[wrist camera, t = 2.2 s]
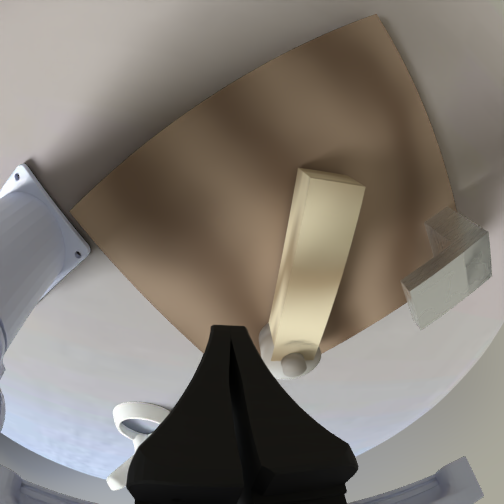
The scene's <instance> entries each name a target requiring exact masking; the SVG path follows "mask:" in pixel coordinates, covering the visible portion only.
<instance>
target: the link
mask: <svg viewBox="0 0 504 504" xmlns="http://www.w3.org/2000/svg"><path fill="white" fill-rule="evenodd" d="M365 188H366V187H365V186H363V185H362V184H360V183H359V182H357V181H355V180H354V179H352V178H351V177H349V176H347V175H342V174H336V173H330V172H324V171H318V170H311V169H304V168H298V171H297V176H296V182H295V188H294V194H293V199H292V205H291V210H290V216H289V221H288V227H287V232H286V238H285V243H284V248H283V253H282V259H281V264H280V269H279V274H278V279H277V284H276V289H275V294H274V299H273V304H272V309H271V314H270V318H269V323H267V324H266V325H265V326H264V327H263V328H262V330H261V332H260V334H259V345H260V351H261V357H262V359H263V361H264V363H265V364H266V366H267V367H268V369H269V370H270V372H271V373H272V375H273V376H274V377H275V378H278V379H294V378H298V377H301V376H303V375H305V374H307V373H309V372H310V371H312V370H313V369H314V368H315V367H316V366H317V365H318V363H319V361H320V359H321V350H320V348H319V344H320V341H321V338H322V335H323V333H324V330H325V327H326V324H327V321H328V318H329V315H330V312H331V309H332V306H333V303H334V300H335V297H336V294H337V290H338V287H339V284H340V281H341V278H342V274H343V271H344V268H345V264H346V261H347V257H348V254H349V250H350V247H351V243H352V239H353V236H354V232H355V228H356V224H357V221H358V217H359V213H360V209H361V205H362V200H363V196H364V192H365Z"/></svg>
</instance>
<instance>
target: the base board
mask: <svg viewBox="0 0 504 504" xmlns="http://www.w3.org/2000/svg"><path fill="white" fill-rule="evenodd" d="M298 168H304V169H311V170H318V171H324V172H330V173H336V174H342V175H347V176H349V177H351V178H352V179H354V180H355V181H357V182H359V183H360V184H362V185H363V186H365V187H366V188H365V192H364V196H363V200H362V205H361V209H360V213H359V217H358V221H357V224H356V228H355V232H354V236H353V239H352V243H351V247H350V250H349V254H348V257H347V261H346V264H345V268H344V271H343V274H342V278H341V281H340V284H339V287H338V290H337V294H336V297H335V300H334V303H333V306H332V309H331V312H330V315H329V318H328V321H327V324H326V327H325V330H324V333H323V335H322V338H321V341H320V344H319V348H320V350H321V354H322V353H324V352H326V351H327V350H329V349H331V348H333V347H335V346H336V345H338V344H340V343H342V342H344V341H345V340H347V339H349V338H351V337H352V336H354V335H356V334H357V333H359V332H361V331H362V330H364V329H366V328H367V327H369V326H371V325H372V324H374V323H376V322H377V321H379V320H380V319H382V318H384V317H385V316H387V315H388V314H390V313H391V312H393V311H394V310H396V309H398V308H399V307H401V306H402V305H404V304H405V303H407V299H406V296H405V293H404V290H403V287H402V285H401V282H400V280H402V279H403V278H405V277H406V276H408V275H409V274H411V273H412V272H413V271H415V270H416V269H418V268H419V267H421V266H422V265H424V264H425V263H426V262H428V261H429V260H431V259H432V258H433V253H432V249H431V245H430V242H429V238H428V234H427V231H426V227H425V224H424V222H426V221H427V220H429V219H430V218H431V217H433V216H434V215H436V214H437V213H438V212H440V211H441V210H443V209H444V208H445V207H447V206H448V207H450V208H451V209H453V210H455V211H456V212H457V210H456V205H455V201H454V197H453V193H452V189H451V185H450V182H449V178H448V174H447V171H446V167H445V164H444V161H443V158H442V155H441V151H440V148H439V145H438V142H437V140H436V137H435V134H434V131H433V128H432V126H431V123H430V120H429V118H428V115H427V113H426V110H425V108H424V105H423V103H422V100H421V98H420V96H419V93H418V91H417V89H416V87H415V84H414V82H413V80H412V78H411V76H410V74H409V72H408V70H407V68H406V66H405V64H404V62H403V60H402V58H401V56H400V54H399V52H398V50H397V48H396V46H395V45H394V43H393V41H392V39H391V37H390V36H389V34H388V32H387V30H386V29H385V27H384V25H383V24H382V22H381V20H380V19H379V17H378V16H377V14H375V15H372V16H369V17H366V18H364V19H361V20H358V21H356V22H353V23H350V24H348V25H345V26H343V27H341V28H338V29H336V30H333V31H331V32H329V33H326V34H324V35H322V36H320V37H317V38H315V39H313V40H311V41H309V42H307V43H304V44H302V45H300V46H298V47H296V48H294V49H292V50H290V51H288V52H286V53H284V54H282V55H280V56H278V57H277V58H275V59H273V60H271V61H269V62H267V63H265V64H264V65H262V66H260V67H258V68H256V69H255V70H253V71H251V72H249V73H248V74H246V75H244V76H243V77H241V78H239V79H238V80H236V81H234V82H233V83H231V84H229V85H228V86H226V87H224V88H223V89H221V90H220V91H218V92H217V93H215V94H213V95H212V96H210V97H209V98H207V99H206V100H204V101H203V102H201V103H200V104H198V105H197V106H195V107H194V108H192V109H191V110H190V111H188V112H187V113H185V114H184V115H182V116H181V117H180V118H178V119H177V120H175V121H174V122H173V123H171V124H170V125H169V126H167V127H166V128H165V129H163V130H162V131H161V132H159V133H158V134H157V135H155V136H154V137H153V138H152V139H150V140H149V141H148V142H146V143H145V144H144V145H143V146H141V147H140V148H139V149H138V150H136V151H135V152H134V153H133V154H132V155H130V156H129V157H128V158H127V159H126V160H124V161H123V162H122V163H121V164H120V165H119V166H117V167H116V168H115V169H114V170H113V171H112V172H111V173H109V174H108V175H107V176H106V177H105V178H104V179H103V180H102V181H100V182H99V183H98V184H97V185H96V186H95V187H94V188H93V189H92V190H91V191H90V192H89V193H88V194H87V195H86V196H84V197H83V198H82V199H81V200H80V201H79V202H78V203H77V204H76V205H75V206H74V207H73V208H72V209H71V210H70V211H69V212H70V213H71V214H72V216H73V217H74V218H75V219H76V221H77V222H78V223H79V224H80V225H81V227H82V228H83V229H84V230H85V231H86V233H87V234H88V235H89V236H90V237H91V239H92V240H93V241H94V242H95V243H96V244H97V246H98V247H99V248H100V249H101V250H102V251H103V252H104V254H105V255H106V256H107V257H108V258H109V259H110V260H111V261H112V263H113V264H114V265H115V266H116V267H117V268H118V269H119V270H120V271H121V272H122V274H123V275H124V276H125V277H126V278H127V279H128V280H129V281H130V282H131V283H132V284H133V285H134V286H135V287H136V288H137V290H138V291H139V292H140V293H141V294H142V295H143V296H144V297H145V298H146V299H147V300H148V301H149V302H150V303H151V304H152V305H153V306H154V307H155V308H156V309H157V310H158V311H159V312H160V313H161V314H162V315H163V316H164V317H165V318H166V319H167V320H168V321H169V322H170V323H171V324H172V325H174V326H175V327H176V328H177V329H178V330H179V331H180V332H181V333H182V334H183V335H184V336H185V337H186V338H187V339H188V340H189V341H191V342H192V343H193V344H194V345H195V346H196V347H197V348H198V349H199V350H200V351H202V352H203V353H204V352H205V349H206V346H207V343H208V340H209V336H210V330H211V326H212V325H233V326H245V327H246V328H247V330H248V333H249V335H250V337H251V339H252V341H253V343H254V345H255V347H256V349H257V351H258V353H259V354H260V356H261V351H260V345H259V334H260V332H261V330H262V328H263V327H264V326H265V325H266V324H267V323H269V318H270V314H271V309H272V304H273V299H274V294H275V289H276V284H277V279H278V274H279V269H280V264H281V259H282V253H283V248H284V243H285V238H286V232H287V227H288V221H289V216H290V210H291V205H292V199H293V194H294V188H295V182H296V176H297V171H298ZM261 358H262V357H261Z"/></svg>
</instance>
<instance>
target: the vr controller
mask: <svg viewBox="0 0 504 504" xmlns="http://www.w3.org/2000/svg"><path fill="white" fill-rule="evenodd" d="M169 413H170V411H168V410H167V409H165V408H162V407H160V406H157V405H153V404H149V403H145V402H125V403H121V404H119V405H117V406H116V407H115V408H114V410H113V417H114V421H115V424H116V427H117V429H118V430H119V432H120V433H121V434H123V435H124V436H126V437H127V438H129V439H131V440H133V443H134V448H135V452H136V450H137V448H138V447H139V446H140V445H141V444H142V443H143V442H144V441H145V440H146V439H147V438H148V437H149V436H150V435H151V434H152V433H150V434H143V433H139V432H136V431H134V430H132V429H130V428H128V427H126V426H125V425H123V424H122V423H121V422H122V421H124V420H126V419H144V420H149V421H152V422H155V423H158V424H161V423H162V422H163V420H164V419H165V418H166V417H167V416H168V414H169ZM134 454H135V453H134ZM133 456H134V455H133ZM133 456H131V457H130V458H129V459H128V460H127V461H125V462H124V463H123V464H122V465H121V466H120V467H118V468H117V469H116V470H115V471H114V472H112V473H111V474H110V475H109V476H108V477H107V479H106V480H107V483H108V485H109V487H110V488H111V489H112V490H118V489H121V488H123V487H125V486H126V482H127V474H128V469H129V466H130V463H131V461H132V458H133Z"/></svg>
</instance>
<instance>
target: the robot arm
mask: <svg viewBox="0 0 504 504" xmlns="http://www.w3.org/2000/svg"><path fill="white" fill-rule="evenodd" d="M18 174H19V175H20V179H19V178H18ZM90 250H91V249H90V246H89V245H88V243H87V242H86V241H85V240H84V239H83V238H82V236H81V235H80V234H79V233H78V232H77V230H76V229H75V228H74V227H73V226H72V224H71V223H70V222H69V221H68V219H67V218H66V217H65V216H64V214H63V213H62V212H61V211H60V209H59V208H58V207H57V205H56V204H55V203H54V202H53V200H52V199H51V198H50V196H49V195H48V194H47V192H46V191H45V190H44V188H43V187H42V186H41V184H40V183H39V181H38V180H37V179H36V177H35V176H34V175H33V173H32V172H31V170H30V169H29V167H28V166H27V165H26V164H20V165H19V166H17V168H16V169H15V170H14V172H13V173H12V175H11V176H10V177H9V179H8V180H7V182H6V183H5V184H4V186H3V187H2V189H1V190H0V379H1V377H2V375H3V373H4V371H5V367H4V365H3V356H4V354H5V352H6V351H7V349H8V347H9V346H10V344H11V342H12V341H13V339H14V338H15V336H16V334H17V333H18V331H19V330H20V328H21V327H22V325H23V324H24V322H25V321H26V319H27V318H28V316H29V315H30V313H31V312H32V310H33V309H34V307H35V306H36V304H37V303H38V302H39V301H40V300H41V299H42V298H43V297H44V296H45V295H46V294H47V293H48V292H49V291H50V290H51V289H52V288H53V287H54V286H55V285H56V284H57V283H58V282H59V281H60V280H62V279H63V278H64V277H65V276H66V275H67V274H68V273H69V272H70V271H71V270H72V269H73V268H75V267H76V266H77V265H78V264H79V263H80V262H81V261H82V260H83V259H85V258H86V257H87V256H88V254H89V253H90ZM77 251H78V252H80V253H81V256H80V255H78V254H77ZM4 420H5V401H4V396H3V394H2V391H1V389H0V432H1V430H2V428H3V424H4ZM357 470H358V464H357V461H356V458H355V456H354V454H353V452H352V450H351V448H350V446H349V444H348V443H346V442H345V441H343V440H341V439H340V438H338V437H337V436H335V435H334V434H332V433H331V432H329V431H328V430H326V429H325V428H324V427H323V426H321V425H320V424H319V423H317V422H316V421H315V420H314V419H313V418H312V417H311V416H309V415H308V414H307V413H306V412H305V411H304V410H303V409H302V408H300V407H299V406H298V404H297V403H296V402H295V401H294V400H293V399H292V398H291V397H290V396H289V395H288V394H287V393H286V391H285V390H284V389H283V388H282V387H281V385H280V384H279V383H278V382H277V380H276V379H275V377H274V376H273V375H272V373H271V372H270V370H269V369H268V367H267V366H266V364H265V363H264V361H263V359H262V358H261V356H260V354H259V353H258V351H257V349H256V347H255V345H254V343H253V341H252V339H251V337H250V335H249V333H248V330H247V328H246V327H245V326H233V325H212V326H211V330H210V336H209V340H208V343H207V346H206V349H205V352H204V354H203V357H202V359H201V362H200V364H199V366H198V368H197V370H196V372H195V374H194V376H193V378H192V380H191V382H190V383H189V385H188V387H187V389H186V390H185V392H184V393H183V395H182V396H181V398H180V399H179V401H178V402H177V404H176V405H175V407H174V408H173V409H172V411H171V412H170V413H169V414H168V416H167V417H166V418H165V419H164V420H163V422H162V423H161V424H160V425H159V426H158V427H157V429H156V430H155V431H154V432H153V433H152V434H151V435H150V436H149V437H148V438H147V439H146V440H145V441H144V442H143V443H142V444H141V445H140V446H139V447H138V448H137V450H136V452H135V454H134V456H133V458H132V461H131V463H130V466H129V469H128V474H127V482H126V487H127V489H128V490H129V492H130V493H131V495H132V496H133V497H134V499H135V504H474V503H475V502H477V501H478V500H480V499H481V498H483V496H484V494H483V492H482V490H481V488H480V485H479V483H478V481H477V479H476V477H475V475H474V473H473V471H472V469H471V467H470V465H469V463H468V461H467V459H466V457H465V456H463V457H461V458H459V459H457V460H455V461H453V462H451V463H449V464H448V465H446V466H444V467H442V468H441V469H440V470H438V471H437V472H436V474H434V475H432V476H429V477H427V478H424V479H422V480H420V481H417V482H414V483H412V484H409V485H406V486H403V487H401V488H398V489H395V490H392V491H389V492H386V493H383V494H379V495H377V496H373V497H369V498H366V499H362V500H358V501H354V502H350V503H347V502H346V499H345V495H344V494H345V493H346V491H347V490H346V486H345V483H346V482H347V481H348V480H349V479H350V478H351V477H352V476H353V475H354V474H355V473H356V472H357ZM0 504H97V503H93V502H89V501H85V500H81V499H78V498H74V497H71V496H68V495H64V494H61V493H58V492H55V491H52V490H49V489H47V488H44V487H41V486H39V485H36V484H33V483H31V482H28V481H26V480H23V479H22V478H21V477H20V476H19V475H18V474H17V473H15V472H14V471H12V470H11V469H9V468H7V467H5V466H3V465H1V464H0Z"/></svg>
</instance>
